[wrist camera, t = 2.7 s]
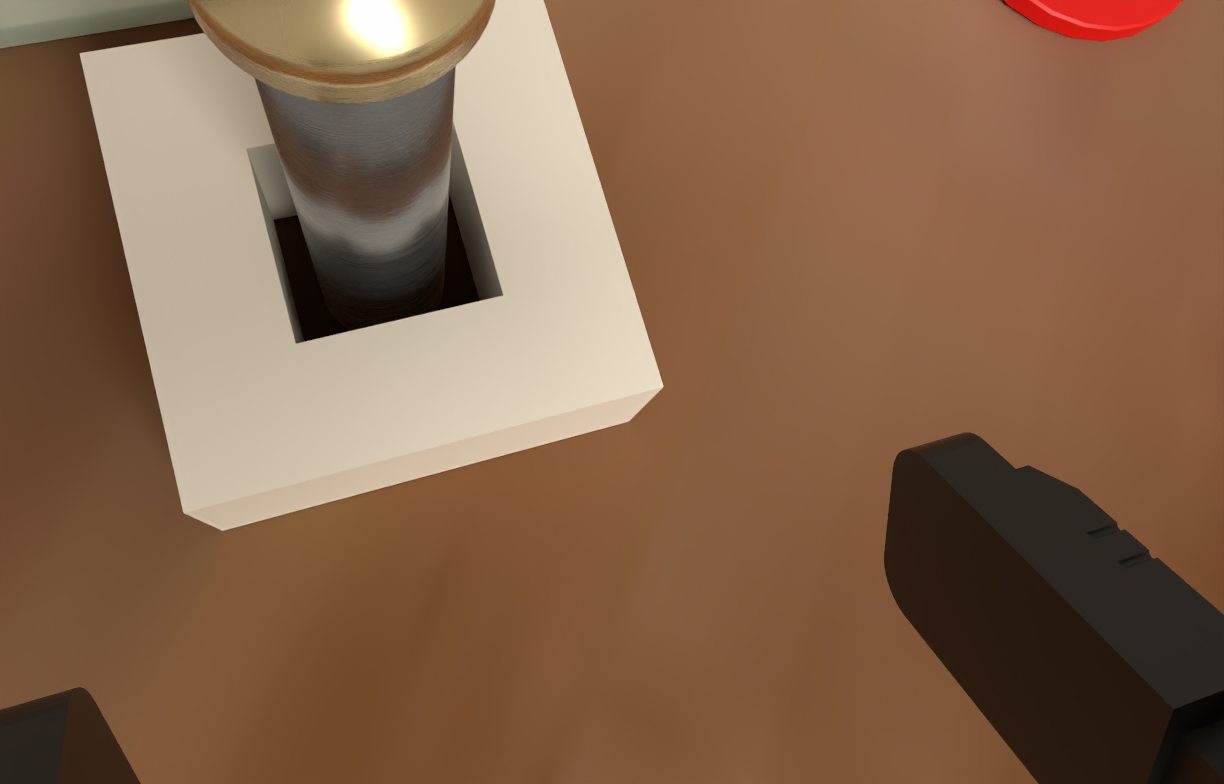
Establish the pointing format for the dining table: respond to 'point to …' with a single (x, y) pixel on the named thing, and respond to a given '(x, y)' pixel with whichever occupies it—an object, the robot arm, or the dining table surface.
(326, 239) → the metal pin
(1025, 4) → the tow hook
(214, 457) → the socket block
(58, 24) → the tray
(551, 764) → the dining table surface
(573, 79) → the dining table surface
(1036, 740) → the robot arm
